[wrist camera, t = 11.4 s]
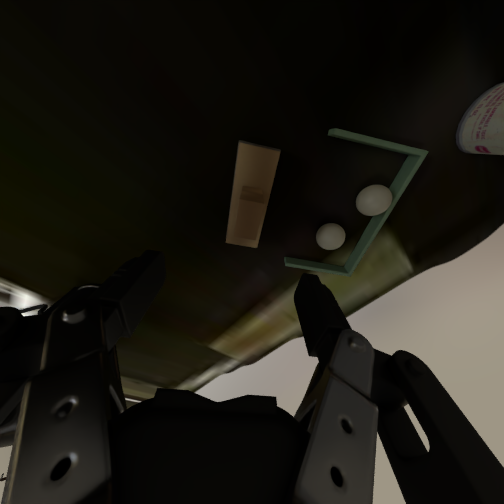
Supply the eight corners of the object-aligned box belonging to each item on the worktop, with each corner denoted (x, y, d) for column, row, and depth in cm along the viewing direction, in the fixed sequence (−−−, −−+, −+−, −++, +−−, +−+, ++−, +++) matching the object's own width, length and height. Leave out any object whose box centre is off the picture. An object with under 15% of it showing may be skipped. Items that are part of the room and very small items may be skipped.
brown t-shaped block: (227, 233, 29) (216, 268, 21) (239, 140, 22) (231, 138, 14) (257, 238, 29) (258, 275, 21) (278, 149, 22) (293, 152, 14)
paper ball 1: (331, 243, 30) (309, 239, 29) (342, 221, 27) (318, 216, 27) (342, 256, 26) (316, 252, 26) (355, 232, 24) (328, 227, 24)
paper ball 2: (345, 207, 26) (362, 218, 23) (358, 179, 24) (380, 185, 21) (367, 211, 27) (388, 222, 23) (382, 184, 25) (407, 191, 21)
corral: (283, 259, 31) (285, 265, 29) (329, 129, 21) (335, 128, 20) (345, 269, 32) (350, 276, 31) (415, 150, 22) (428, 151, 21)
